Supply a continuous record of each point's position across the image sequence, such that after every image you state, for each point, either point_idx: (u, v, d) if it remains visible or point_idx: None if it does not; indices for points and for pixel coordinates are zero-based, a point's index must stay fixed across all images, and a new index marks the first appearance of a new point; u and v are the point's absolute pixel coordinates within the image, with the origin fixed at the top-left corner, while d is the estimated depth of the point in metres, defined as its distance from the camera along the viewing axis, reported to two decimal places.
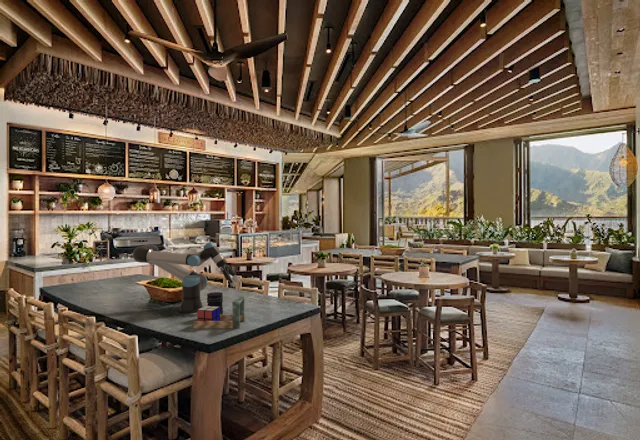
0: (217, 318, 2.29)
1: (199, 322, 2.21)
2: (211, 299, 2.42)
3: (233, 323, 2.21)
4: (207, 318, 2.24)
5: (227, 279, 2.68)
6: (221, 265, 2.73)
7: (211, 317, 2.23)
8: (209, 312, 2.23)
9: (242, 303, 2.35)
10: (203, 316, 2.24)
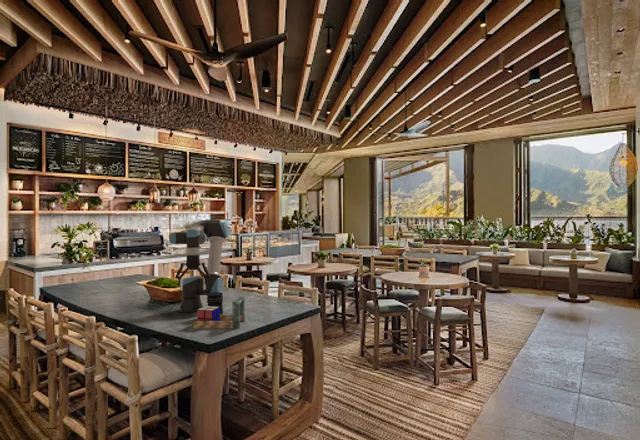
0: (217, 318, 2.29)
1: (199, 322, 2.21)
2: (211, 299, 2.42)
3: (233, 323, 2.21)
4: (207, 318, 2.24)
5: None
6: None
7: (211, 317, 2.23)
8: (209, 312, 2.23)
9: (242, 303, 2.35)
10: (203, 316, 2.24)
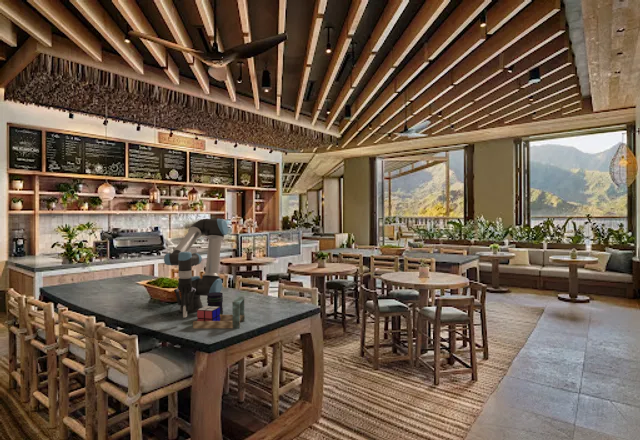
0: (217, 318, 2.29)
1: (199, 322, 2.21)
2: (211, 299, 2.42)
3: (233, 323, 2.21)
4: (207, 318, 2.24)
5: None
6: None
7: (211, 317, 2.23)
8: (209, 312, 2.23)
9: (242, 303, 2.35)
10: (203, 316, 2.24)
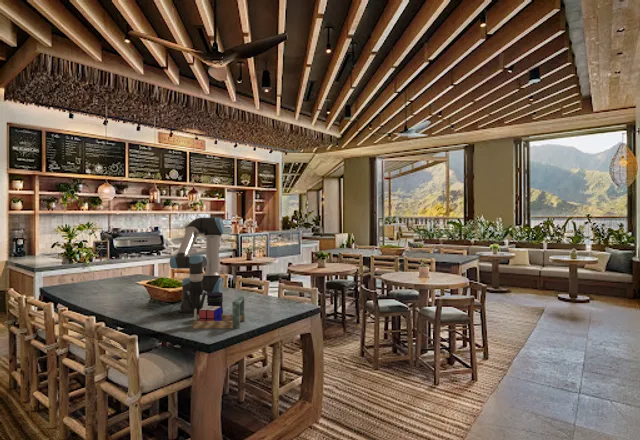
0: (219, 318, 2.29)
1: (199, 322, 2.21)
2: (211, 299, 2.42)
3: (233, 323, 2.21)
4: (209, 318, 2.24)
5: None
6: None
7: (213, 317, 2.23)
8: (211, 312, 2.23)
9: (242, 303, 2.35)
10: (205, 316, 2.24)
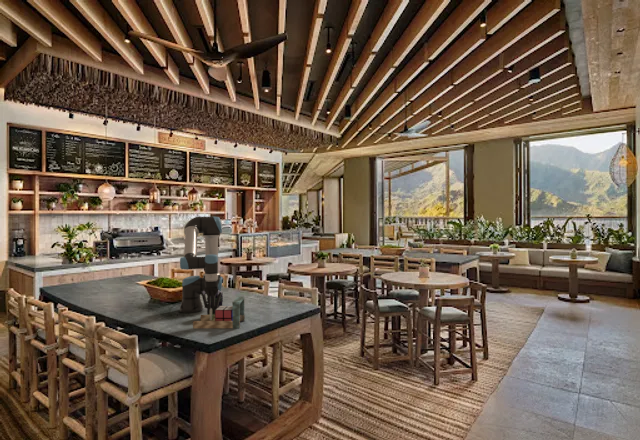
0: None
1: (199, 322, 2.21)
2: (211, 299, 2.42)
3: (233, 323, 2.21)
4: (226, 317, 2.24)
5: None
6: None
7: (230, 316, 2.24)
8: (228, 311, 2.24)
9: (242, 303, 2.35)
10: (222, 316, 2.24)
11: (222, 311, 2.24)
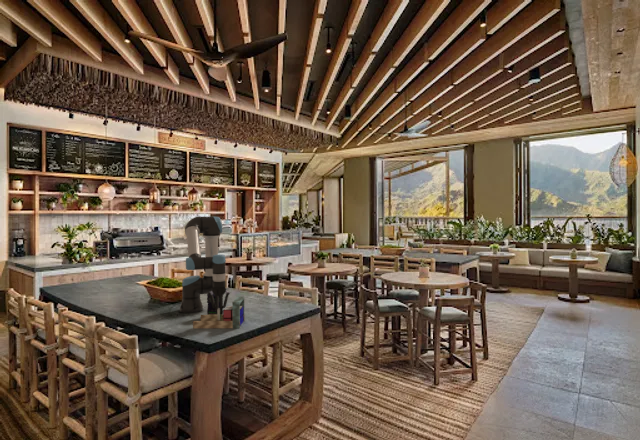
0: (242, 317, 2.31)
1: (199, 322, 2.21)
2: None
3: (233, 323, 2.21)
4: None
5: None
6: None
7: None
8: None
9: (242, 303, 2.35)
10: (230, 316, 2.25)
11: (230, 311, 2.25)
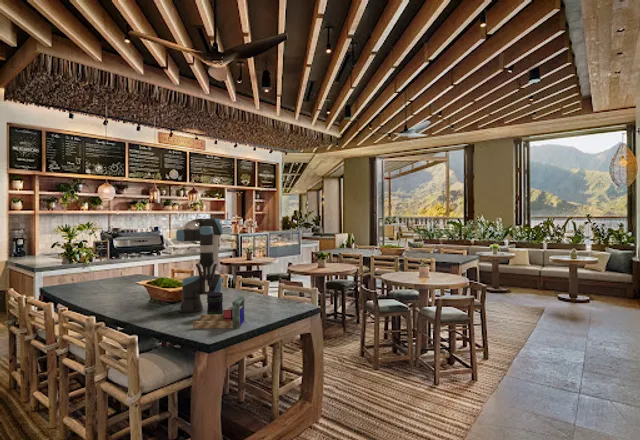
0: (242, 317, 2.31)
1: (199, 322, 2.21)
2: (211, 299, 2.42)
3: (233, 323, 2.21)
4: None
5: None
6: None
7: None
8: None
9: (242, 303, 2.35)
10: (230, 316, 2.25)
11: (230, 311, 2.25)
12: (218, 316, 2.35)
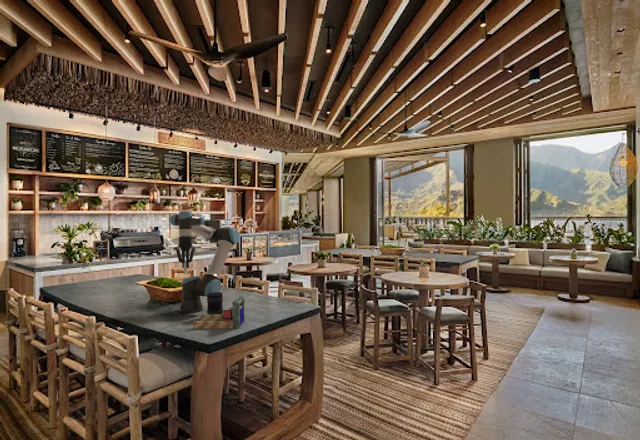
0: (242, 317, 2.31)
1: (199, 322, 2.21)
2: (211, 299, 2.42)
3: (233, 323, 2.21)
4: None
5: None
6: None
7: None
8: None
9: (242, 303, 2.35)
10: (230, 316, 2.25)
11: (230, 311, 2.25)
12: (218, 316, 2.35)
